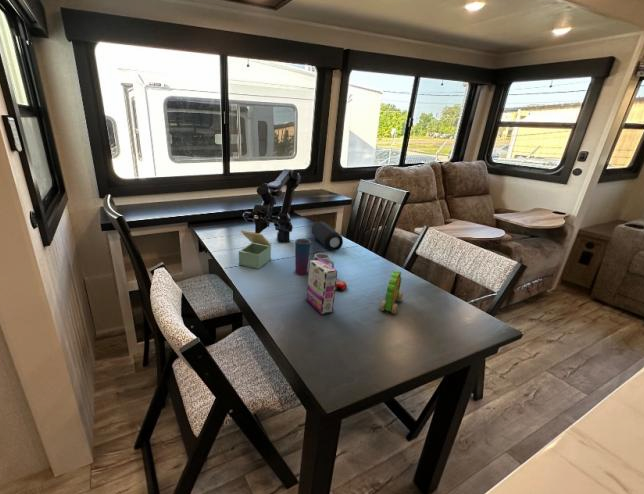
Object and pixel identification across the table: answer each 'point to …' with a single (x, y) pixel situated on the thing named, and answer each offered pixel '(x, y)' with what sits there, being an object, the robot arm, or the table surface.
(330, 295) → the candy bar box
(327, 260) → the mug
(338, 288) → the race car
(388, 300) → the green toy caterpillar
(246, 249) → the green hinged box
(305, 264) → the cup
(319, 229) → the portable speaker
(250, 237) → the lid
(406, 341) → the table surface
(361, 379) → the table surface
